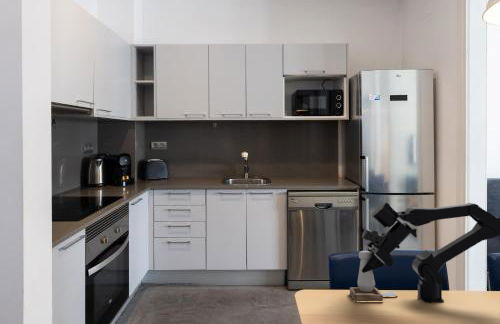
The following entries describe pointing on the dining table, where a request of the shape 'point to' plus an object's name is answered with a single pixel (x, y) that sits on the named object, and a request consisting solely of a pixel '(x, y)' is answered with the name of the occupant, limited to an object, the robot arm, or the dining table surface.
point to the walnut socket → (366, 295)
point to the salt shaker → (365, 274)
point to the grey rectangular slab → (389, 294)
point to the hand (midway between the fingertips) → (361, 270)
